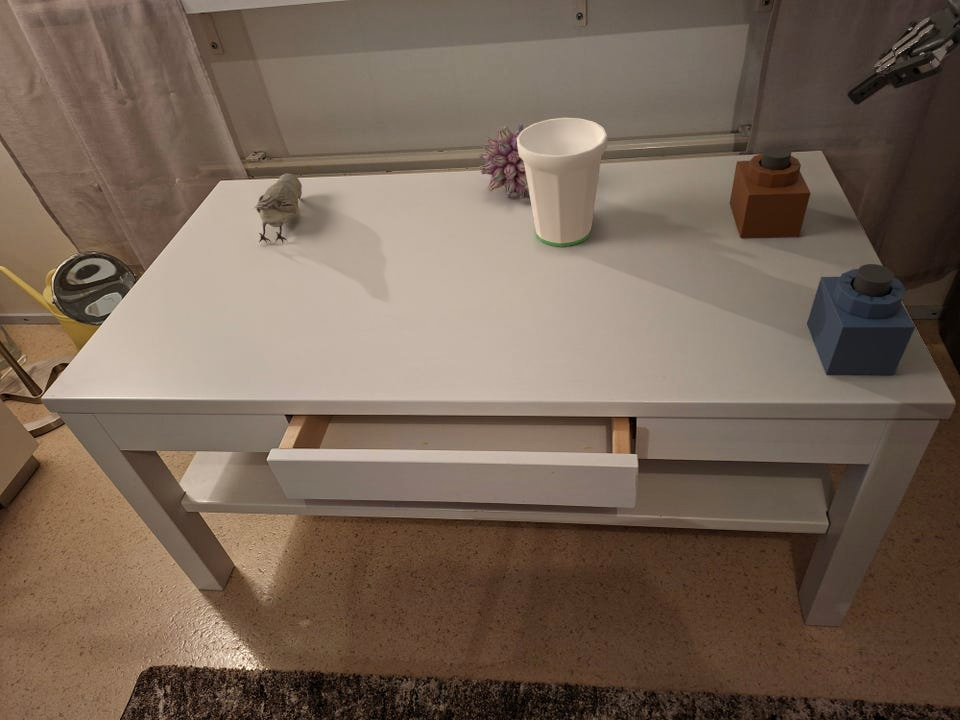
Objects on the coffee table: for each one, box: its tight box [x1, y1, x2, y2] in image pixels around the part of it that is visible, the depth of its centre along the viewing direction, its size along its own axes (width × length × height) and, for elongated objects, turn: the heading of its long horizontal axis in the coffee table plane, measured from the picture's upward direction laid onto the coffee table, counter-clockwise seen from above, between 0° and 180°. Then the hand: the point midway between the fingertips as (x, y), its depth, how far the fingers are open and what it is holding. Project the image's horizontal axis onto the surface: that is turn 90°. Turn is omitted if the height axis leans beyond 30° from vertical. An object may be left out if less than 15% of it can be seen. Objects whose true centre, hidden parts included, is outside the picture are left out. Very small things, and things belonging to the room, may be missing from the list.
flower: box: [477, 122, 530, 199], centre depth 107 cm, size 12×12×12 cm
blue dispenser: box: [806, 268, 916, 376], centre depth 73 cm, size 9×7×9 cm
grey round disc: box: [761, 145, 792, 170], centre depth 91 cm, size 4×4×2 cm
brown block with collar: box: [729, 152, 811, 239], centre depth 94 cm, size 10×8×9 cm
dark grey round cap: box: [853, 263, 895, 297], centre depth 70 cm, size 3×3×2 cm
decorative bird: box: [252, 172, 303, 245], centre depth 109 cm, size 5×16×8 cm, turn 176°
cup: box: [517, 117, 608, 247], centre depth 95 cm, size 12×12×15 cm
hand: (850, 97), depth 83 cm, fingers closed
